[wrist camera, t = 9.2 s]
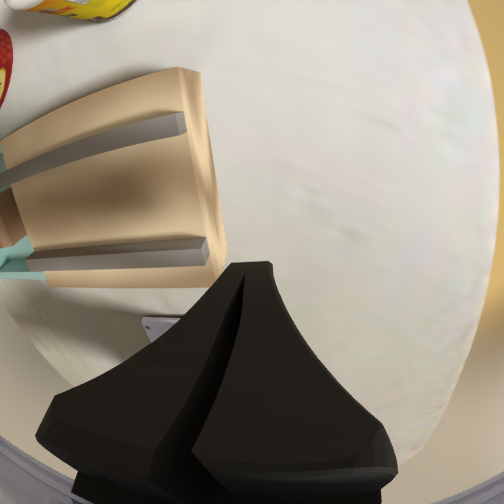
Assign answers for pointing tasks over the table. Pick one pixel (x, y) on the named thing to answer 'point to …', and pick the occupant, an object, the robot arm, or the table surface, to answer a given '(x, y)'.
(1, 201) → the brown block
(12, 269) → the tray
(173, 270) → the slot deck
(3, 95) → the canned food
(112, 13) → the supplement bottle
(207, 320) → the robot arm
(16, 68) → the table surface
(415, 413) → the table surface
